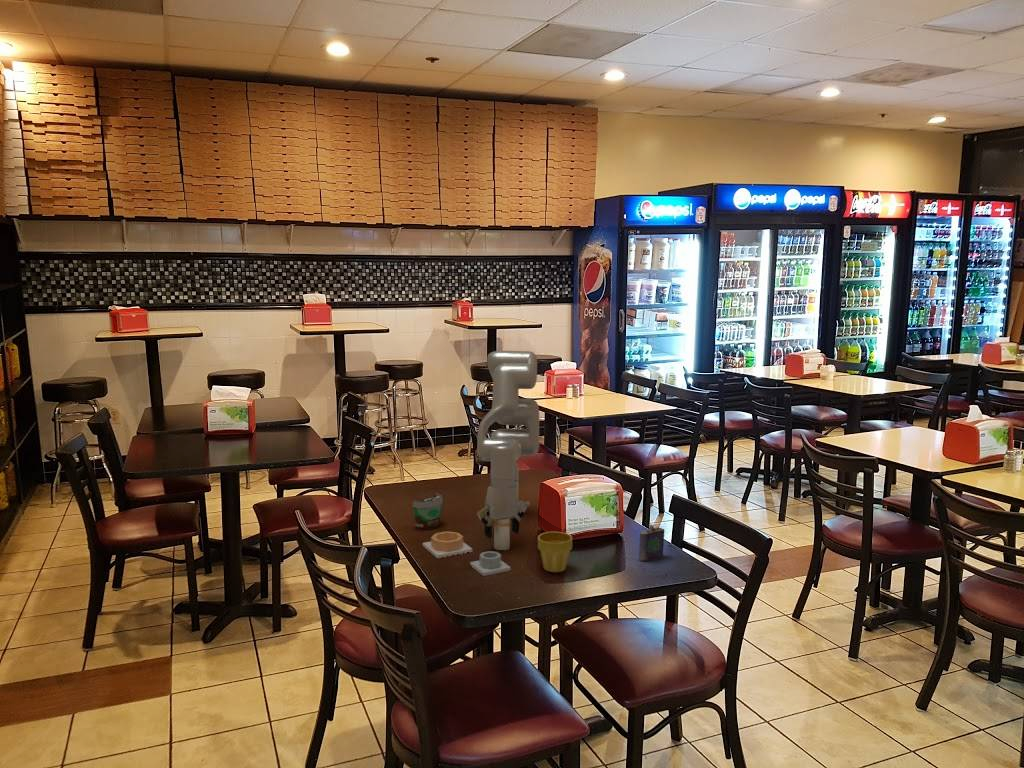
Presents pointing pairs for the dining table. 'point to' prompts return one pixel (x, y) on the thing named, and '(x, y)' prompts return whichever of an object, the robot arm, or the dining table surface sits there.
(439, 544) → the wide socket
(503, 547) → the beige peg
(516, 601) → the dining table surface
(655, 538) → the flask
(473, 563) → the narrow socket
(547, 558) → the plant pot
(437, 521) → the food container
